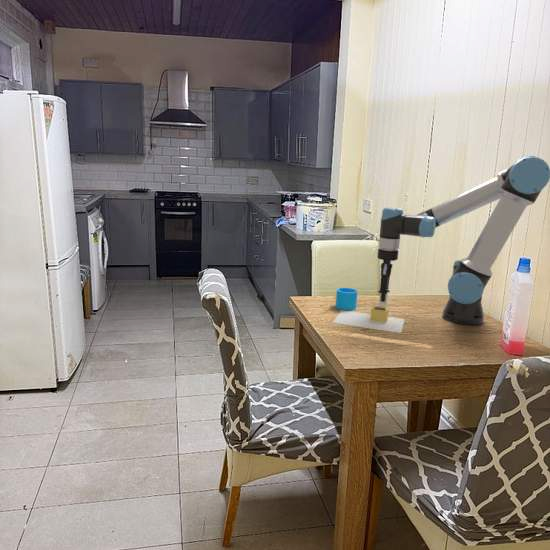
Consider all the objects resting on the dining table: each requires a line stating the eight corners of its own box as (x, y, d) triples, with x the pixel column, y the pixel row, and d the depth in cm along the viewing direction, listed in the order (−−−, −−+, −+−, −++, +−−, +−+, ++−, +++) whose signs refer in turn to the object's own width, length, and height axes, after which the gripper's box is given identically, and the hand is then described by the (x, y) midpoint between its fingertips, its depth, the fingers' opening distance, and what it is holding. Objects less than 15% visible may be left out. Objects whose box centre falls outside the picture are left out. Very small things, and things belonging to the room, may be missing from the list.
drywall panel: (412, 323, 189) (413, 320, 189) (409, 337, 174) (409, 334, 173) (333, 312, 198) (334, 309, 198) (324, 324, 182) (324, 321, 182)
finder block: (388, 317, 191) (389, 306, 190) (386, 322, 185) (387, 310, 184) (372, 315, 193) (373, 304, 192) (370, 319, 187) (371, 308, 186)
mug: (351, 314, 197) (353, 294, 195) (332, 310, 200) (333, 290, 198) (361, 307, 207) (363, 288, 205) (343, 303, 211) (344, 284, 209)
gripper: (380, 245, 198) (374, 303, 203) (376, 250, 186) (370, 312, 191) (400, 247, 196) (393, 305, 201) (396, 252, 184) (390, 314, 189)
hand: (382, 308), depth 196 cm, fingers closed
